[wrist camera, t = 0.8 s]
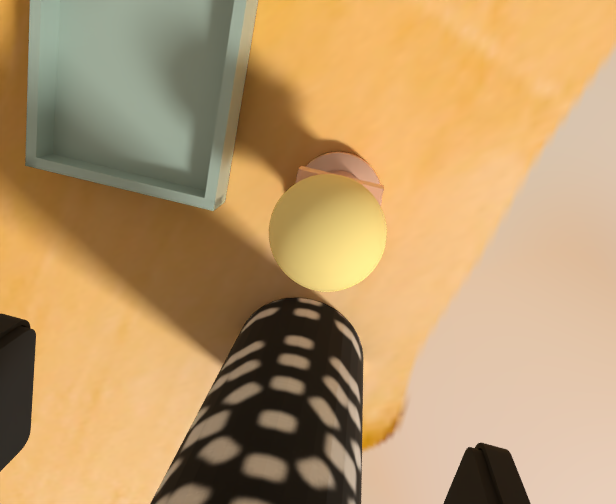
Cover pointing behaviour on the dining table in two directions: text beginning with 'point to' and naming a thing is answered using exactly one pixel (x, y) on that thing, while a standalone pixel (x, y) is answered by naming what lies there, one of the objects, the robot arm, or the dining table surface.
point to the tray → (139, 93)
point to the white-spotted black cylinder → (278, 416)
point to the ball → (327, 232)
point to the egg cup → (344, 170)
